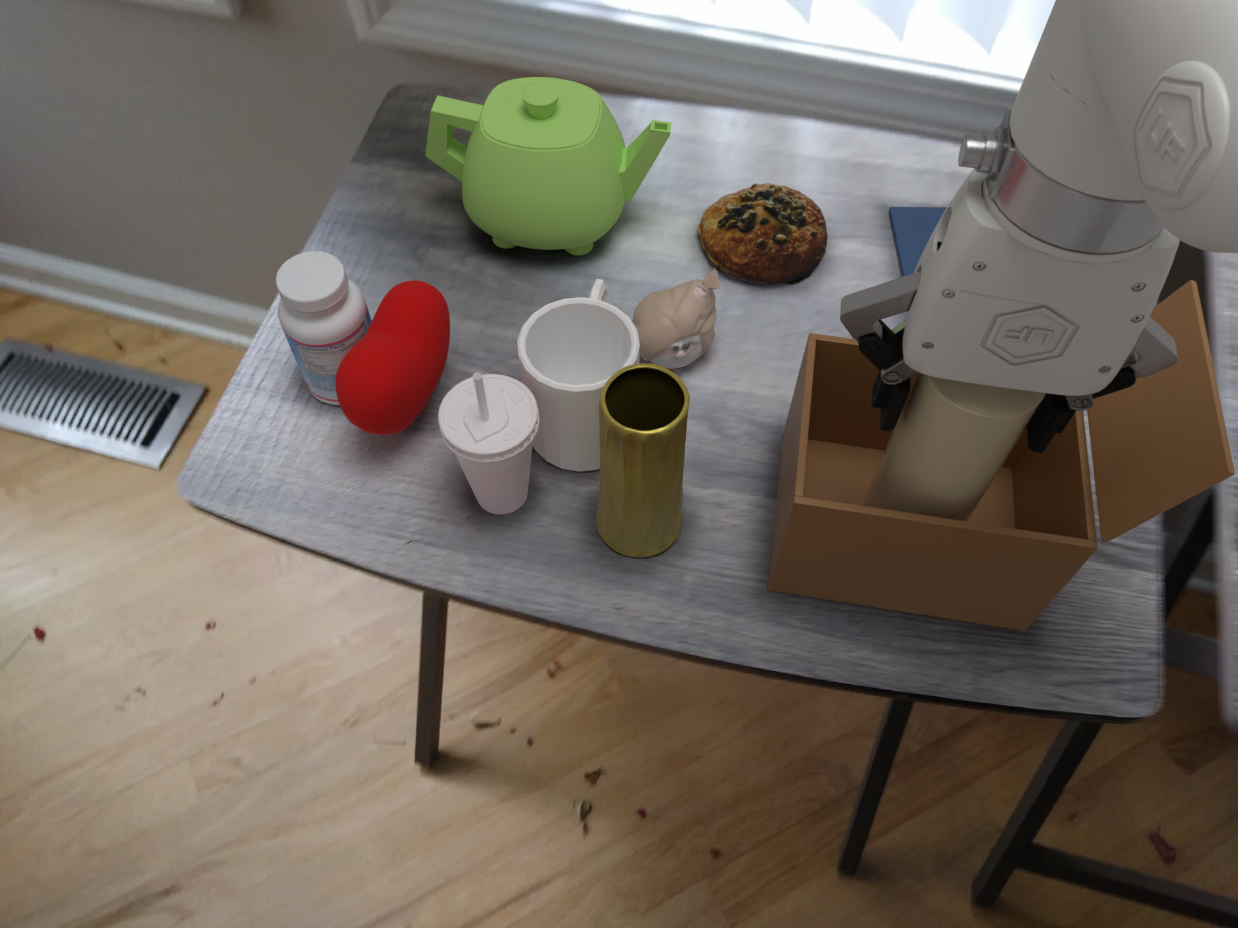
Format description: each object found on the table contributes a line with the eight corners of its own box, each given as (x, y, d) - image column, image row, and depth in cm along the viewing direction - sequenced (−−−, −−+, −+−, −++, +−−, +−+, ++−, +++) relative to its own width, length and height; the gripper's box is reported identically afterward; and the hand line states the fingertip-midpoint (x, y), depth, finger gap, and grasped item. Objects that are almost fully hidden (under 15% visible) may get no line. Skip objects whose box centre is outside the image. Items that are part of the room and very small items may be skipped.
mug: (653, 354, 77) (659, 264, 69) (624, 480, 71) (626, 398, 62) (554, 338, 78) (547, 247, 70) (516, 462, 72) (503, 378, 63)
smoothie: (444, 520, 69) (410, 400, 57) (473, 447, 72) (447, 319, 61) (532, 539, 68) (516, 421, 56) (557, 464, 71) (547, 338, 60)
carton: (1016, 467, 72) (1079, 368, 62) (1025, 631, 65) (1098, 548, 55) (782, 434, 73) (809, 332, 63) (767, 590, 66) (793, 502, 56)
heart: (409, 485, 70) (382, 401, 62) (342, 463, 71) (306, 377, 63) (477, 365, 76) (461, 274, 68) (414, 346, 77) (390, 254, 69)
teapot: (672, 175, 89) (680, 49, 78) (656, 284, 81) (663, 161, 71) (454, 155, 90) (433, 29, 79) (420, 260, 83) (392, 137, 72)
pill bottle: (318, 344, 77) (278, 239, 68) (394, 350, 77) (364, 245, 68) (297, 406, 74) (252, 304, 65) (377, 412, 74) (342, 311, 64)
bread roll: (792, 308, 80) (795, 258, 76) (674, 267, 84) (672, 219, 80) (851, 231, 85) (856, 182, 81) (737, 197, 90) (738, 148, 86)
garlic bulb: (705, 390, 75) (714, 320, 69) (623, 376, 76) (624, 305, 69) (717, 325, 79) (727, 253, 72) (639, 313, 79) (642, 240, 73)
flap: (1081, 361, 61) (1086, 364, 61) (1100, 540, 54) (1106, 543, 54) (1190, 279, 55) (1196, 281, 55) (1229, 471, 48) (1235, 474, 48)
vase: (583, 543, 68) (577, 423, 56) (612, 473, 71) (612, 345, 59) (667, 569, 67) (680, 453, 55) (693, 496, 70) (710, 371, 58)
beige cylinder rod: (964, 547, 67) (1073, 374, 52) (902, 601, 65) (997, 438, 49) (893, 486, 70) (976, 304, 54) (831, 536, 68) (899, 362, 52)
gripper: (871, 210, 40) (800, 453, 54) (1323, 266, 38) (1124, 500, 53) (877, 95, 44) (809, 350, 58) (1285, 141, 42) (1110, 391, 57)
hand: (959, 420), depth 56 cm, fingers open, 7 cm apart
